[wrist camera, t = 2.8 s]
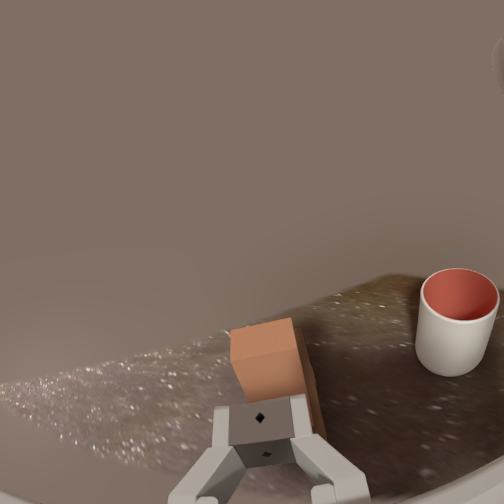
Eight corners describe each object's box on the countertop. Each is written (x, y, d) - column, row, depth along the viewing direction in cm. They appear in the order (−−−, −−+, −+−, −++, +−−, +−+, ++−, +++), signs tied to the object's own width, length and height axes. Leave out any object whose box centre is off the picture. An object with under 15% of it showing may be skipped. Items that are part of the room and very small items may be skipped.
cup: (402, 339, 40) (406, 280, 35) (460, 317, 39) (469, 259, 35) (432, 392, 31) (447, 334, 26) (495, 363, 30) (515, 303, 26)
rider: (310, 405, 32) (290, 317, 26) (315, 431, 29) (297, 347, 23) (264, 413, 32) (230, 330, 26) (267, 440, 29) (230, 361, 23)
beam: (306, 346, 44) (302, 325, 42) (330, 450, 29) (328, 435, 27) (256, 357, 45) (249, 337, 43) (263, 463, 30) (254, 448, 28)
